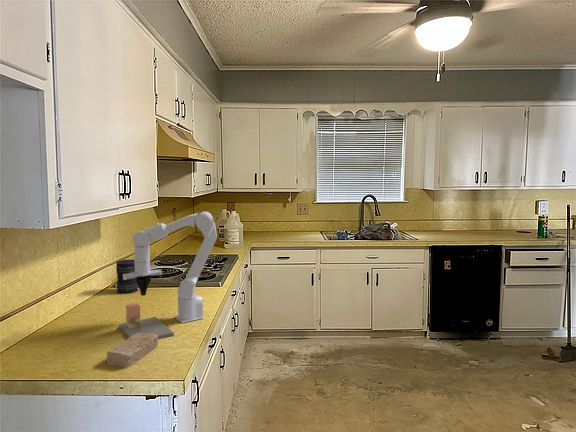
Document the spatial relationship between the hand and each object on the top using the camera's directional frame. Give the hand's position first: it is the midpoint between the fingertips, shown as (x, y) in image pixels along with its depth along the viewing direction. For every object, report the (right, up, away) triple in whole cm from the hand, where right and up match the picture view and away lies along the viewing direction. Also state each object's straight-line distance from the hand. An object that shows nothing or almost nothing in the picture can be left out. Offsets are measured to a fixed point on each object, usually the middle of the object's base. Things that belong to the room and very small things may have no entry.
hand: (143, 294), depth 165 cm
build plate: (+5, -12, -10) cm, 16 cm away
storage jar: (-22, -6, +42) cm, 48 cm away
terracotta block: (-1, -6, -9) cm, 11 cm away
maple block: (-1, -10, -8) cm, 13 cm away
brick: (+8, -14, -30) cm, 34 cm away
